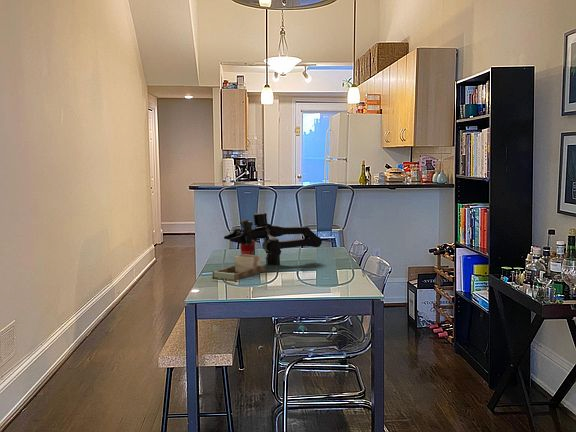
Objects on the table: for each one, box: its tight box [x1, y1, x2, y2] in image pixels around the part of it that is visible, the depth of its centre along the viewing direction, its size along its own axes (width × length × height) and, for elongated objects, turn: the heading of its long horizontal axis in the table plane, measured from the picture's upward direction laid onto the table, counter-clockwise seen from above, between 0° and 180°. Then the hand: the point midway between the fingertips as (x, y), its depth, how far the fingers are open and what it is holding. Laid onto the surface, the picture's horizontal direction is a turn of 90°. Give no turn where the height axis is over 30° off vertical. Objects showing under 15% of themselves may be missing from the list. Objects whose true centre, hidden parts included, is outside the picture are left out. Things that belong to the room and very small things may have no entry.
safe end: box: [213, 272, 235, 283], centre depth 267 cm, size 10×14×4 cm
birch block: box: [234, 254, 262, 272], centre depth 278 cm, size 8×10×8 cm
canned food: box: [240, 240, 256, 255], centre depth 320 cm, size 8×8×11 cm
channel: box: [212, 265, 266, 283], centre depth 273 cm, size 23×14×4 cm, turn 146°
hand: (227, 238), depth 285 cm, fingers open, 9 cm apart
